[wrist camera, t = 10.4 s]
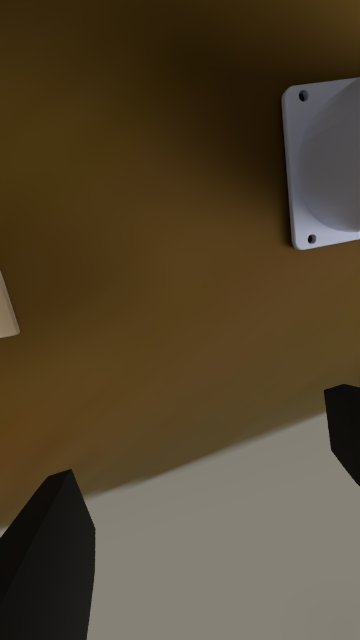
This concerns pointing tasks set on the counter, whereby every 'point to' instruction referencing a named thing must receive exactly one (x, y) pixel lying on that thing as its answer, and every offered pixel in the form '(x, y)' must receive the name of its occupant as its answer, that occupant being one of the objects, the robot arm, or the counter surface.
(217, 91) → the counter surface
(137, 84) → the counter surface
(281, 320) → the counter surface
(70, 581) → the robot arm
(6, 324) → the tan flat rectangular panel
